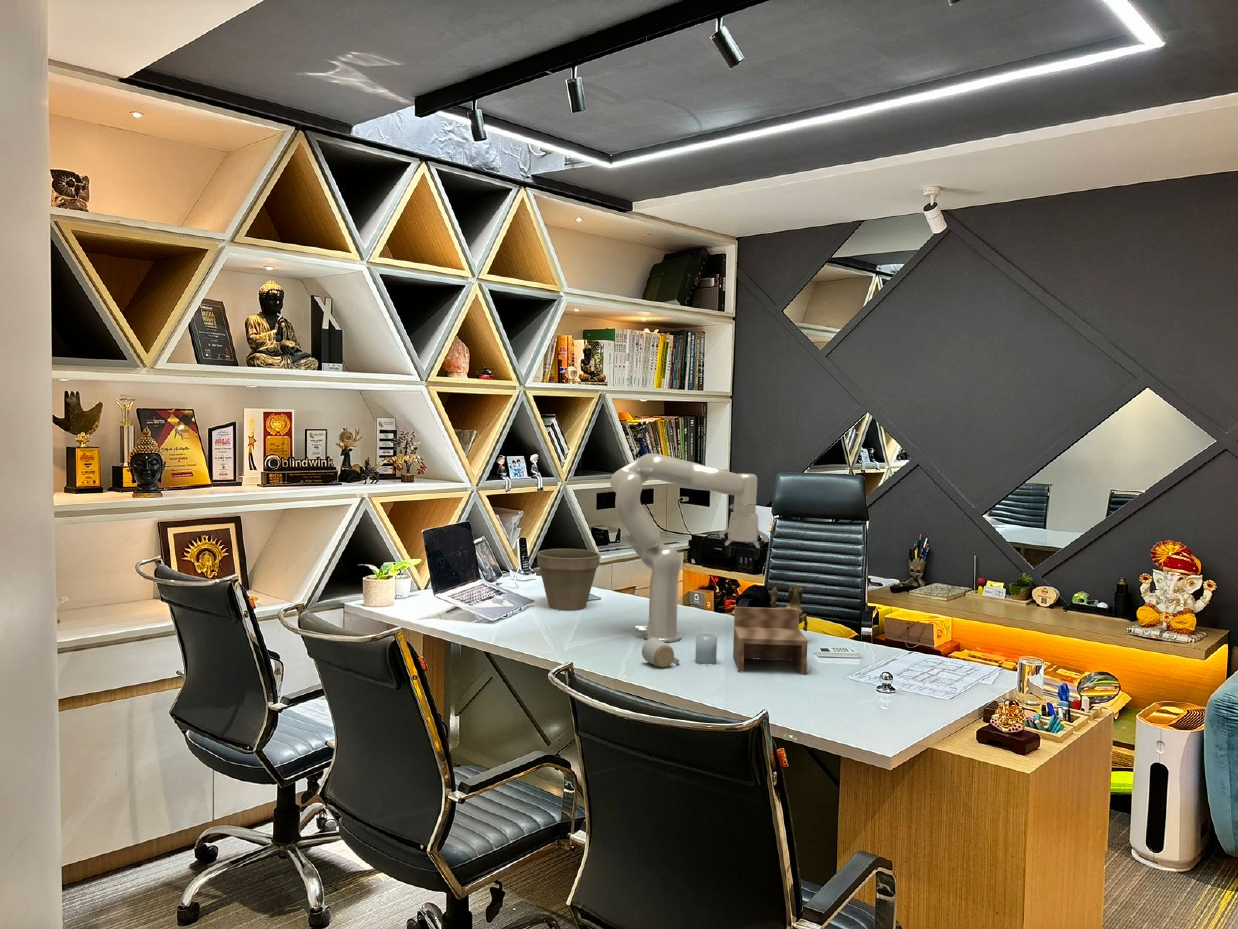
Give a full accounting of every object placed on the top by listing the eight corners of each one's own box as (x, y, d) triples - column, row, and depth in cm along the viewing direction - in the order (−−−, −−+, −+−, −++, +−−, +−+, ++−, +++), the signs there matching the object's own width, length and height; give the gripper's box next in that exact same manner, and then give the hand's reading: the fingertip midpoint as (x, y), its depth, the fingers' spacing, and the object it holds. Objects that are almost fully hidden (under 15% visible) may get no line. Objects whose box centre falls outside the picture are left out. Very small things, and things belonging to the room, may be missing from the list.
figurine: (818, 642, 310) (820, 583, 309) (774, 653, 292) (776, 591, 291) (787, 635, 319) (789, 578, 318) (742, 646, 301) (744, 585, 301)
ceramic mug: (654, 670, 268) (655, 644, 268) (640, 663, 275) (641, 638, 275) (684, 667, 273) (685, 641, 273) (670, 660, 280) (671, 635, 280)
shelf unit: (738, 671, 268) (740, 618, 268) (733, 657, 286) (734, 606, 285) (806, 674, 267) (808, 620, 267) (796, 659, 285) (798, 608, 284)
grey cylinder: (695, 664, 275) (696, 638, 275) (694, 659, 282) (695, 633, 281) (716, 665, 275) (717, 639, 275) (715, 660, 282) (716, 634, 281)
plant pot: (587, 616, 343) (588, 558, 342) (526, 610, 350) (527, 554, 349) (606, 604, 367) (607, 550, 366) (549, 599, 374) (550, 547, 373)
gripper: (718, 507, 315) (715, 557, 316) (767, 511, 310) (765, 561, 310) (722, 506, 322) (720, 554, 323) (771, 510, 317) (768, 559, 317)
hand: (742, 557), depth 316 cm, fingers open, 9 cm apart
